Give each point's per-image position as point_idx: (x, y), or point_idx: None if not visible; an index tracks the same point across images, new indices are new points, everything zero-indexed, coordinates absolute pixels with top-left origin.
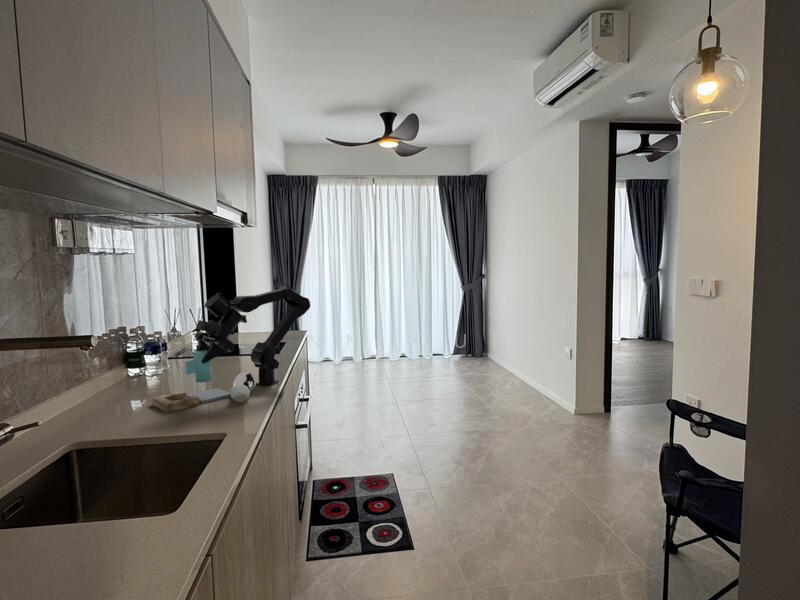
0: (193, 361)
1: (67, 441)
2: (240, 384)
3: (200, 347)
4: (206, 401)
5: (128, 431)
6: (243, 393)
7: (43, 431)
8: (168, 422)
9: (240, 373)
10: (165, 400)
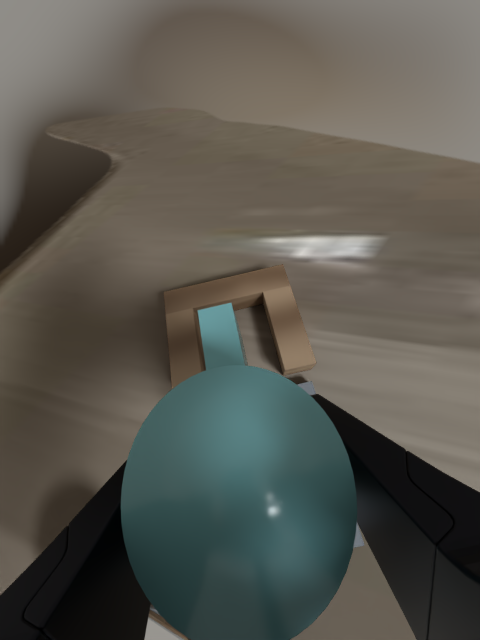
0: (207, 367)
1: (132, 156)
2: None
3: (412, 524)
4: None
5: (101, 226)
6: None
7: (220, 126)
8: (89, 295)
9: None
10: (216, 293)
